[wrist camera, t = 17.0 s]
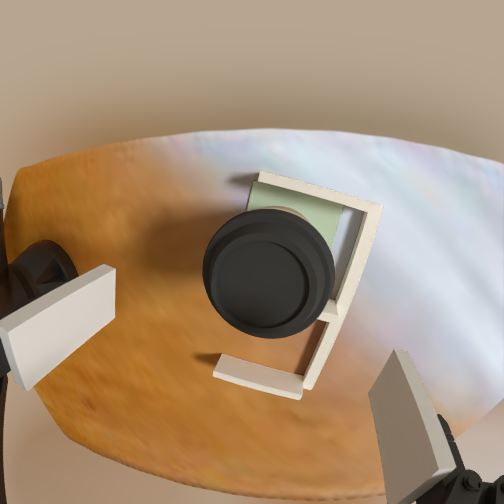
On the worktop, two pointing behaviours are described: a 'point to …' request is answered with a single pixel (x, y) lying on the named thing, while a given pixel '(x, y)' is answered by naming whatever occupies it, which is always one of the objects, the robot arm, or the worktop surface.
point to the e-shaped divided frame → (332, 313)
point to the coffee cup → (269, 272)
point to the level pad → (299, 207)
